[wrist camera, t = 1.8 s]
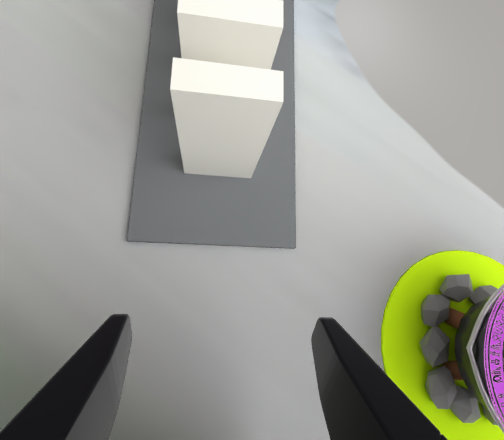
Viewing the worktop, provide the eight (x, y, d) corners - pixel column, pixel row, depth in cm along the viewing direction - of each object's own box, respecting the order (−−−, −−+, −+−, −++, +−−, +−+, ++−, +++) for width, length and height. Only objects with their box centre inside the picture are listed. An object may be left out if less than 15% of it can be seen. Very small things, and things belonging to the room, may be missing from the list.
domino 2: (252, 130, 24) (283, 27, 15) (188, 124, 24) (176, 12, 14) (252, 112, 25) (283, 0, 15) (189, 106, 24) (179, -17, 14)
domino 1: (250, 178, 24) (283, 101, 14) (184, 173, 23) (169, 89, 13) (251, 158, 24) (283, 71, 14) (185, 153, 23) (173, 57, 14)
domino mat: (294, 248, 23) (295, 247, 23) (128, 241, 22) (127, 240, 21) (292, -43, 30) (293, -48, 29) (162, -67, 28) (162, -72, 27)
